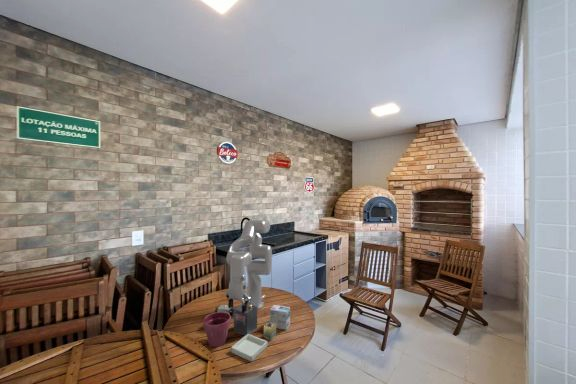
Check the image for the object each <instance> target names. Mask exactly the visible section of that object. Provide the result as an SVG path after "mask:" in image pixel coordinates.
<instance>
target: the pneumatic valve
mask: <svg viewBox="0 0 576 384" xmlns="http://www.w3.org/2000/svg"><path fill="white" fill-rule="evenodd" d="M234 308H235V307H234V305H233V307H231V308H228V304H225V305H224V304H219V305H218V306H217V307H215V310H214V313H216V312H226V313H228V314H230V316H231V320H232V319H234Z"/></svg>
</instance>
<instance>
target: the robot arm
mask: <svg viewBox="0 0 576 384" xmlns="http://www.w3.org/2000/svg"><path fill="white" fill-rule="evenodd" d="M270 230H271V223H270V221H269V220H266V219H265V220H264V219H249V220H247V221H246V222H245V223H244V226H243V229H242V233H241V235H240V237H239V238H237V239H236V240H234V241H233V242H232V243H231V244H230V246H229V248H228V251H227V254H226V263H227V264H228V265H229V266H230V280H229V283H228V290H225V291H224V292H225V297H226V298H227V299H226V300H227V301H228V302H227V303H228V304H227V306H228V308H231V307H233V306H234V300H235V301H237V302H241V304H243V305H242V313H244V312H246V311H247V304H252V305H253V306H256V307H257V310H260V309H261V308H263V307H264V302H263V299H265V297H266V295H262V279H261V277H260V276H269V275H270V274H271V273H272V266H273V265H272V261H273V259H272V258H273V250H272V247H271V245H268V244H262V243H263V237H262V235H261V234H267V233H269V232H270ZM248 246H249V251H238V250H240V249H242V248H244V247H248ZM253 259H256V260H253ZM257 259H259V260H257ZM261 259H262V260H261ZM245 267H246V275H247V281H246V278H245ZM244 302H245V303H244Z"/></svg>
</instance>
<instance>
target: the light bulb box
mask: <svg viewBox="0 0 576 384" xmlns="http://www.w3.org/2000/svg"><path fill="white" fill-rule="evenodd" d="M269 321H271V322H273V323H276V329H280V330H285V331H287V329H288V328H289V327H290V325H291V307H290V306H286V305H285V306H284V305H278V304H273V306H272V307H271V308H270V309H269Z"/></svg>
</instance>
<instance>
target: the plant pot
mask: <svg viewBox="0 0 576 384" xmlns="http://www.w3.org/2000/svg"><path fill="white" fill-rule="evenodd" d="M231 324H232V319H231V316H230V314H228V313H226V312H216V313H215V312H212V313H209V314H208V315H206V316H205V317H204V319H203V330H205V334H206V339H207V342H208V345H209V346H211V347H214V348H215V347H221V346H223V345H224V344H226V341H227V337H228V332H229V330H230V329H229V328H230V325H231Z"/></svg>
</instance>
